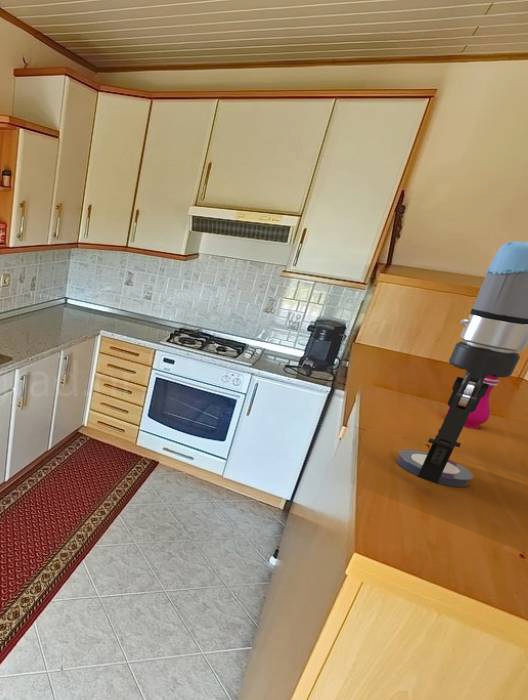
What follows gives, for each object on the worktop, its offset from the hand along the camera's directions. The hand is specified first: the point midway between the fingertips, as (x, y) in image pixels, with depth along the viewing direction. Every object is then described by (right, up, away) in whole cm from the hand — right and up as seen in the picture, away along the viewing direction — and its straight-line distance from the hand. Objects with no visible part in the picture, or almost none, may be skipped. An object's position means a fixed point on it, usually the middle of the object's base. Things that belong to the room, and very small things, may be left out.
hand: (427, 478), depth 83 cm
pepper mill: (+35, +5, +32) cm, 47 cm away
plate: (+8, 0, +8) cm, 12 cm away
